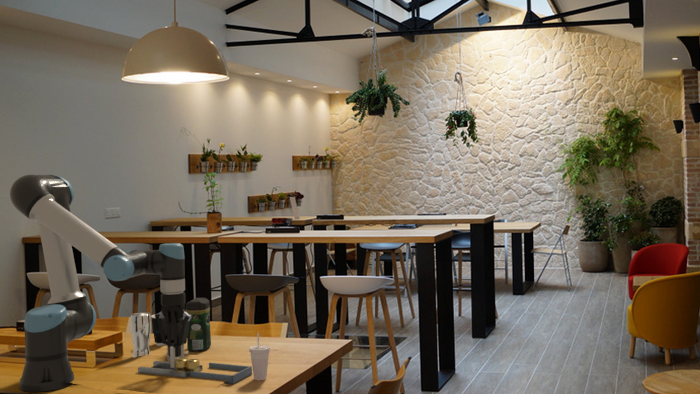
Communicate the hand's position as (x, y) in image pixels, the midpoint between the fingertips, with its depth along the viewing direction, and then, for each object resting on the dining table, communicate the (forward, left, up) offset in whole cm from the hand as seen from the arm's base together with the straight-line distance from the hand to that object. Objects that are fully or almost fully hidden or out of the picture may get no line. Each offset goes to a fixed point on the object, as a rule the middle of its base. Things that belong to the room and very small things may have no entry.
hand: (175, 366), depth 211 cm
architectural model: (+13, +9, -3) cm, 16 cm away
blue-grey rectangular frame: (+2, -15, -3) cm, 16 cm away
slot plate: (0, +2, -3) cm, 3 cm away
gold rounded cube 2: (0, -7, -2) cm, 7 cm away
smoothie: (+4, -28, -3) cm, 29 cm away
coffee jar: (+31, +13, -3) cm, 34 cm away
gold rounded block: (0, -3, -2) cm, 3 cm away
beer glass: (+15, +26, -3) cm, 30 cm away
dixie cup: (+33, +31, -3) cm, 46 cm away
